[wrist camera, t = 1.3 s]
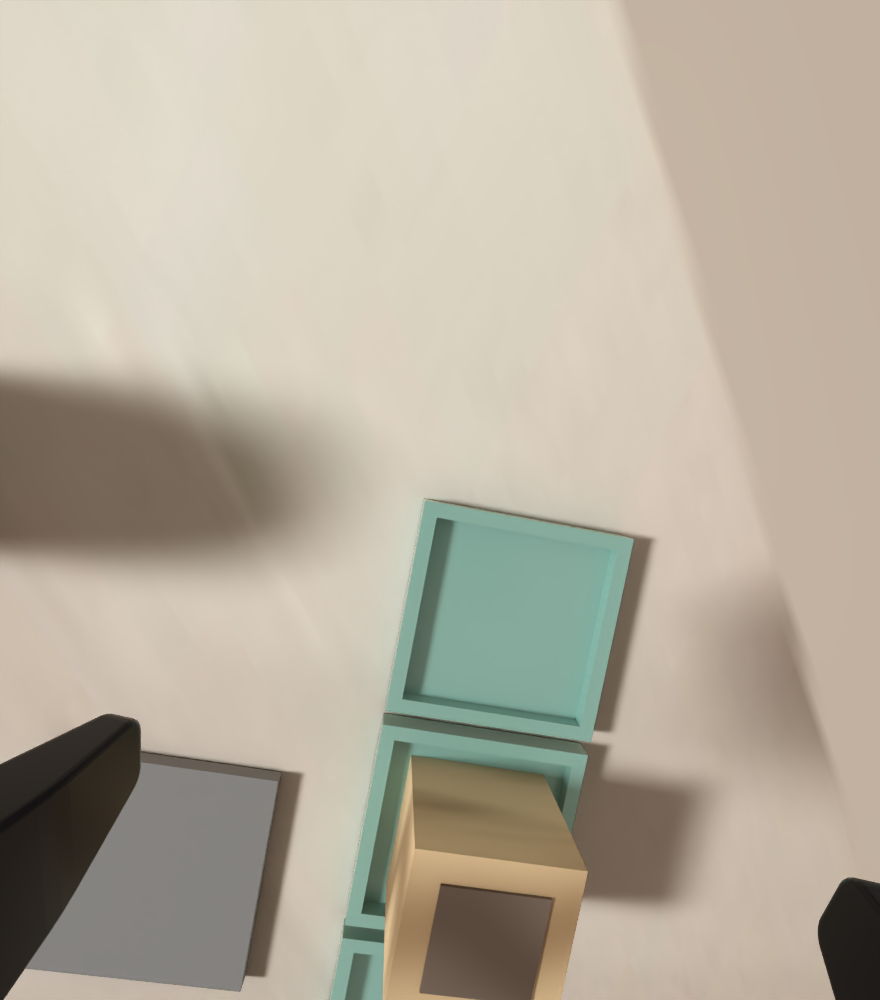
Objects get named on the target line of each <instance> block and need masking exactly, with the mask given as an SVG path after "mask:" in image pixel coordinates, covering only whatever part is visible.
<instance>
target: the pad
mask: <svg viewBox="0 0 880 1000" xmlns="http://www.w3.org/2000/svg"><path fill="white" fill-rule="evenodd" d="M280 778H281V772H277V771H270V770H263V769H256V768H249V767H242V766H235V765H228V764H220V763H213V762H206V761H199V760H192V759H185V758H178V757H171V756H164V755H157V754H150V753H143V752H141V770H140V775H139V778H138V781H137V784H136V786H135V788H134V790H133V792H132V793H131V795H130V797H129V799H128V800H127V802H126V804H125V806H124V807H123V809H122V811H121V813H120V814H119V816H118V818H117V820H116V822H115V823H114V825H113V827H112V829H111V830H110V832H109V834H108V836H107V837H106V839H105V841H104V843H103V844H102V846H101V848H100V850H99V851H98V853H97V855H96V857H95V858H94V860H93V862H92V864H91V865H90V867H89V869H88V871H87V872H86V874H85V876H84V878H83V879H82V881H81V883H80V885H79V886H78V888H77V890H76V892H75V893H74V895H73V897H72V898H71V900H70V902H69V903H68V905H67V907H66V908H65V910H64V912H63V913H62V915H61V916H60V918H59V919H58V921H57V922H56V924H55V925H54V927H53V928H52V930H51V932H50V933H49V935H48V936H47V937H46V939H45V940H44V942H43V943H42V945H41V946H40V948H39V949H38V951H37V952H36V953H35V955H34V956H33V958H32V959H31V961H30V962H29V964H28V965H27V966H26V968H25V969H35V970H44V971H53V972H62V973H71V974H81V975H90V976H99V977H108V978H118V979H127V980H136V981H145V982H154V983H164V984H173V985H182V986H191V987H201V988H210V989H219V990H228V991H237V992H240V991H241V988H242V985H243V981H244V978H245V973H246V968H247V962H248V956H249V951H250V945H251V940H252V934H253V929H254V923H255V917H256V912H257V906H258V901H259V895H260V889H261V884H262V878H263V873H264V867H265V862H266V856H267V850H268V845H269V839H270V834H271V828H272V822H273V817H274V811H275V806H276V800H277V795H278V789H279V783H280Z"/></svg>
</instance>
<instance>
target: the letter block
mask: <svg viewBox="0 0 880 1000" xmlns="http://www.w3.org/2000/svg"><path fill="white" fill-rule="evenodd" d="M587 874H588V870H587V868H586V866H585V864H584V862H583V859H582V857H581V855H580V853H579V851H578V848H577V846H576V844H575V842H574V840H573V838H572V835H571V833H570V831H569V829H568V827H567V824H566V822H565V820H564V818H563V816H562V813H561V811H560V809H559V807H558V805H557V802H556V800H555V798H554V796H553V794H552V792H551V789H550V787H549V785H548V783H547V781H546V778H545V776H544V774H538V773H531V772H524V771H517V770H510V769H504V768H497V767H490V766H483V765H476V764H470V763H463V762H456V761H449V760H442V759H435V758H429V757H422V756H415V755H411V758H410V763H409V768H408V773H407V778H406V783H405V789H404V794H403V799H402V804H401V809H400V815H399V820H398V825H397V830H396V835H395V841H394V846H393V851H392V856H391V861H390V866H389V872H388V877H387V882H386V903H385V936H384V970H383V1000H561V995H562V990H563V986H564V981H565V976H566V972H567V967H568V962H569V958H570V953H571V948H572V944H573V939H574V934H575V930H576V925H577V921H578V916H579V911H580V907H581V902H582V897H583V893H584V888H585V883H586V879H587Z"/></svg>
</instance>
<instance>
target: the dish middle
mask: <svg viewBox="0 0 880 1000" xmlns="http://www.w3.org/2000/svg"><path fill="white" fill-rule="evenodd" d="M411 755H415V756H422V757H429V758H435V759H442V760H449V761H456V762H463V763H470V764H476V765H483V766H490V767H497V768H504V769H510V770H517V771H524V772H531V773H538V774H544V776H545V778H546V781H547V783H548V785H549V787H550V789H551V792H552V794H553V796H554V798H555V800H556V802H557V805H558V807H559V809H560V811H561V813H562V816H563V818H564V820H565V822H566V824H567V827H568V829H569V831H570V833H571V834H572V829H573V824H574V819H575V815H576V810H577V805H578V801H579V796H580V791H581V786H582V782H583V777H584V772H585V768H586V763H587V758H588V755H587V753H586V751H585V750H584V748H583V747H582V745H581V744H580V743H576V742H570V741H563V740H557V739H550V738H544V737H537V736H530V735H524V734H517V733H511V732H504V731H498V730H491V729H485V728H478V727H471V726H465V725H458V724H452V723H445V722H439V721H432V720H425V719H419V718H412V717H406V716H399V715H393V714H386V713H383V718H382V724H381V729H380V734H379V740H378V745H377V750H376V755H375V761H374V766H373V771H372V777H371V782H370V787H369V792H368V798H367V803H366V808H365V814H364V819H363V824H362V829H361V835H360V840H359V845H358V851H357V856H356V861H355V866H354V872H353V877H352V882H351V888H350V893H349V898H348V903H347V911H346V919H345V925H348V926H356V927H364V928H373V929H381V930H385V903H386V882H387V877H388V872H389V866H390V861H391V856H392V851H393V846H394V841H395V835H396V830H397V825H398V820H399V815H400V809H401V804H402V799H403V794H404V789H405V783H406V778H407V773H408V768H409V763H410V758H411Z"/></svg>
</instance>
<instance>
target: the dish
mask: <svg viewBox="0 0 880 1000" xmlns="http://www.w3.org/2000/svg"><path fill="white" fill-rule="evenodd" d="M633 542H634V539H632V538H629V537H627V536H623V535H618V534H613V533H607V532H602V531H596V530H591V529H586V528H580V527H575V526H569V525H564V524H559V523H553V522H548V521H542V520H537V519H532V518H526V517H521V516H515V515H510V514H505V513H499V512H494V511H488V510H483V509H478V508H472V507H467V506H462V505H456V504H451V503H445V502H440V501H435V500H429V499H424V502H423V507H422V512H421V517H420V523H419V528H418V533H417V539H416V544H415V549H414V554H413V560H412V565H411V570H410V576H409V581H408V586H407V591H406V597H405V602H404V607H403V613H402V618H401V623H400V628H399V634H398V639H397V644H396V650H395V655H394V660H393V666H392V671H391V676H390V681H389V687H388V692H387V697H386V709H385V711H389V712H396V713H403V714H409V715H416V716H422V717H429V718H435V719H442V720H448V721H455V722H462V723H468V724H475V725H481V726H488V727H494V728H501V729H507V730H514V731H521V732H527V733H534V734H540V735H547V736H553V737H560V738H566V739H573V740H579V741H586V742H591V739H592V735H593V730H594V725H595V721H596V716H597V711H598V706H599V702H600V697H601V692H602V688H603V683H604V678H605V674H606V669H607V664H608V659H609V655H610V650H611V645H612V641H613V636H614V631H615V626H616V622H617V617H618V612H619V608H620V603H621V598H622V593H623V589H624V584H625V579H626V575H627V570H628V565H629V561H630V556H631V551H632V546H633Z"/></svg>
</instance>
